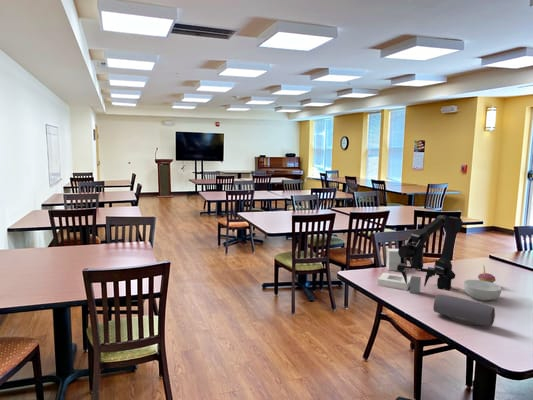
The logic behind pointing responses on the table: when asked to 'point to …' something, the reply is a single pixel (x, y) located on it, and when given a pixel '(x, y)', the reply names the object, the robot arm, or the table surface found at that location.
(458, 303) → the bluetooth speaker
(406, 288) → the square frame
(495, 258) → the table surface
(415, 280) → the dark grey square post
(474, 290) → the cereal bowl
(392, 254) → the white rectangular block
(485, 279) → the cupcake
